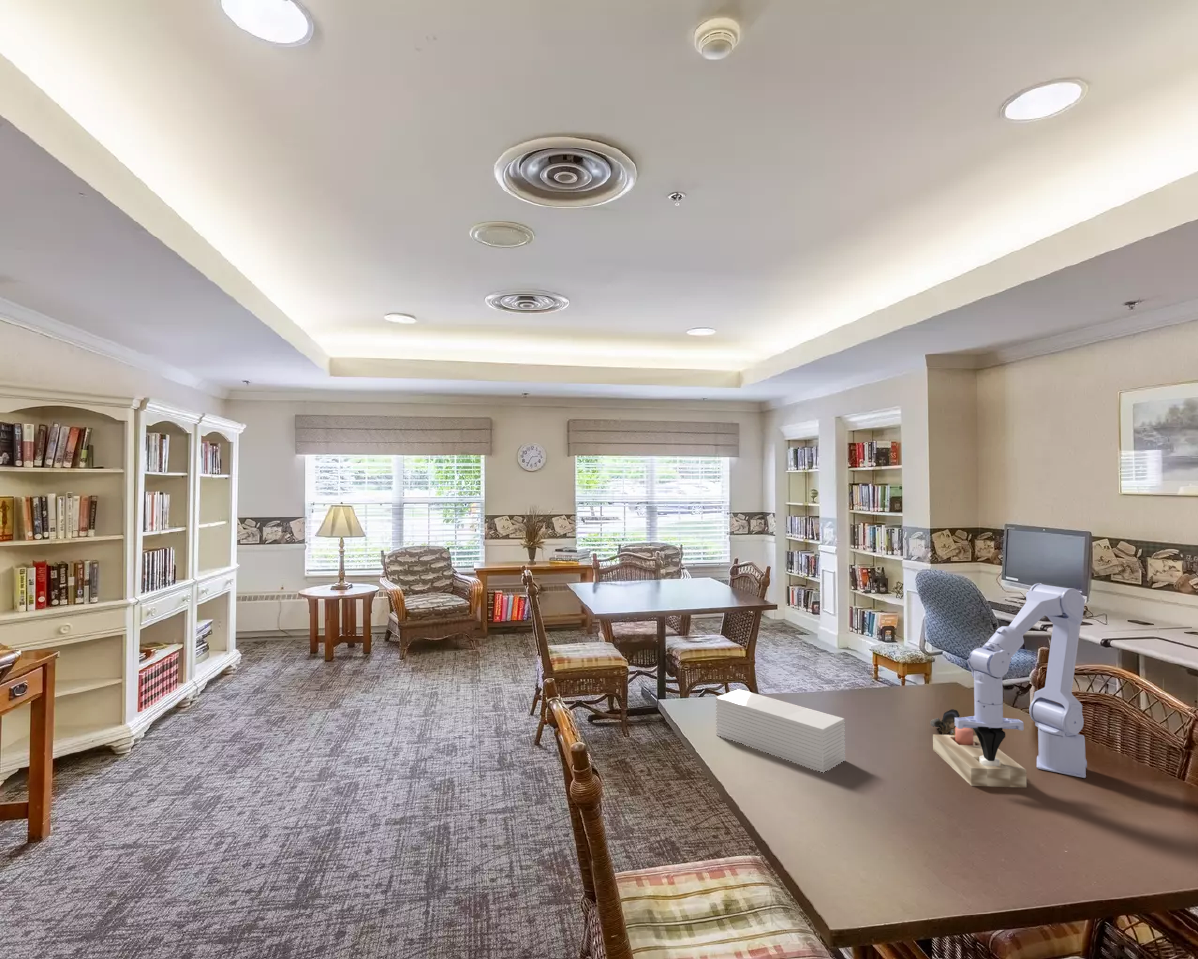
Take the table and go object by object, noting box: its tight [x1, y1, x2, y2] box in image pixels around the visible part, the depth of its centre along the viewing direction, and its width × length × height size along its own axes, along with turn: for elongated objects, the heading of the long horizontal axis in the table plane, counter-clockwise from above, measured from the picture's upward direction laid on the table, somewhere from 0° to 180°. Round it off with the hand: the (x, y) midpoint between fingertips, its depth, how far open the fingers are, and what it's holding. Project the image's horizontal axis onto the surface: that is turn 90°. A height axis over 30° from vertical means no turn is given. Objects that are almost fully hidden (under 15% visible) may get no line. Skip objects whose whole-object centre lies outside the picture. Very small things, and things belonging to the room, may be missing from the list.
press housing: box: [932, 734, 1027, 789], centre depth 155 cm, size 12×20×4 cm, turn 175°
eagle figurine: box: [929, 708, 960, 735], centre depth 176 cm, size 8×7×9 cm
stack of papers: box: [715, 688, 846, 774], centre depth 168 cm, size 32×11×11 cm, turn 42°
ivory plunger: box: [979, 755, 999, 766], centre depth 149 cm, size 4×4×4 cm
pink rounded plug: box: [954, 727, 974, 745], centre depth 161 cm, size 4×4×4 cm
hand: (989, 759), depth 149 cm, fingers closed, pressing on ivory plunger
